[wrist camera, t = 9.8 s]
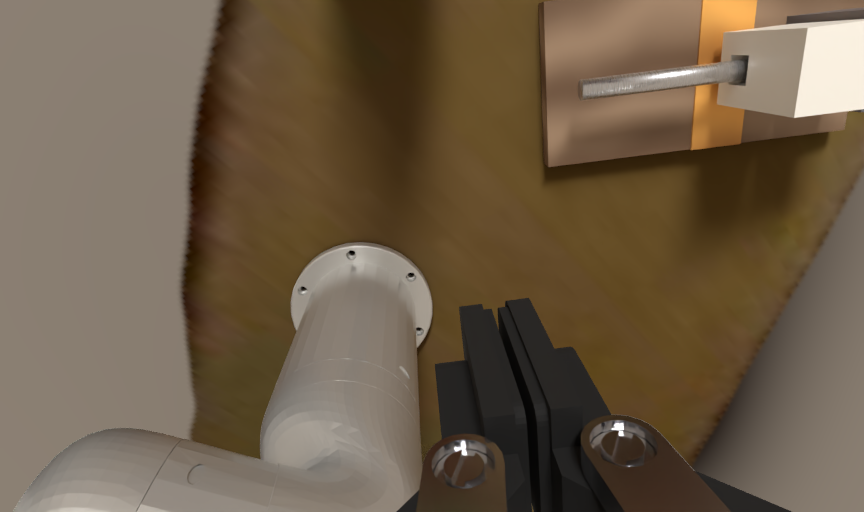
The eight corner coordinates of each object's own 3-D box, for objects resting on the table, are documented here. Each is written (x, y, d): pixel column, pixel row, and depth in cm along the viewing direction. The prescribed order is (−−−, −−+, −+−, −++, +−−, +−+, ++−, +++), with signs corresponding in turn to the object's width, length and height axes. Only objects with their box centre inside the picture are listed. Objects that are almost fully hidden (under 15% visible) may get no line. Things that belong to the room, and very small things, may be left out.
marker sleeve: (782, 96, 38) (875, 107, 31) (716, 104, 38) (794, 117, 31) (792, 23, 36) (895, 16, 29) (723, 32, 36) (807, 27, 29)
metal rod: (806, 70, 36) (821, 71, 35) (577, 99, 36) (584, 101, 35) (810, 49, 36) (825, 49, 34) (577, 79, 36) (583, 80, 34)
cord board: (829, 127, 42) (845, 130, 41) (543, 163, 42) (549, 168, 41) (859, -38, 38) (878, -42, 36) (538, 2, 37) (544, 0, 36)
